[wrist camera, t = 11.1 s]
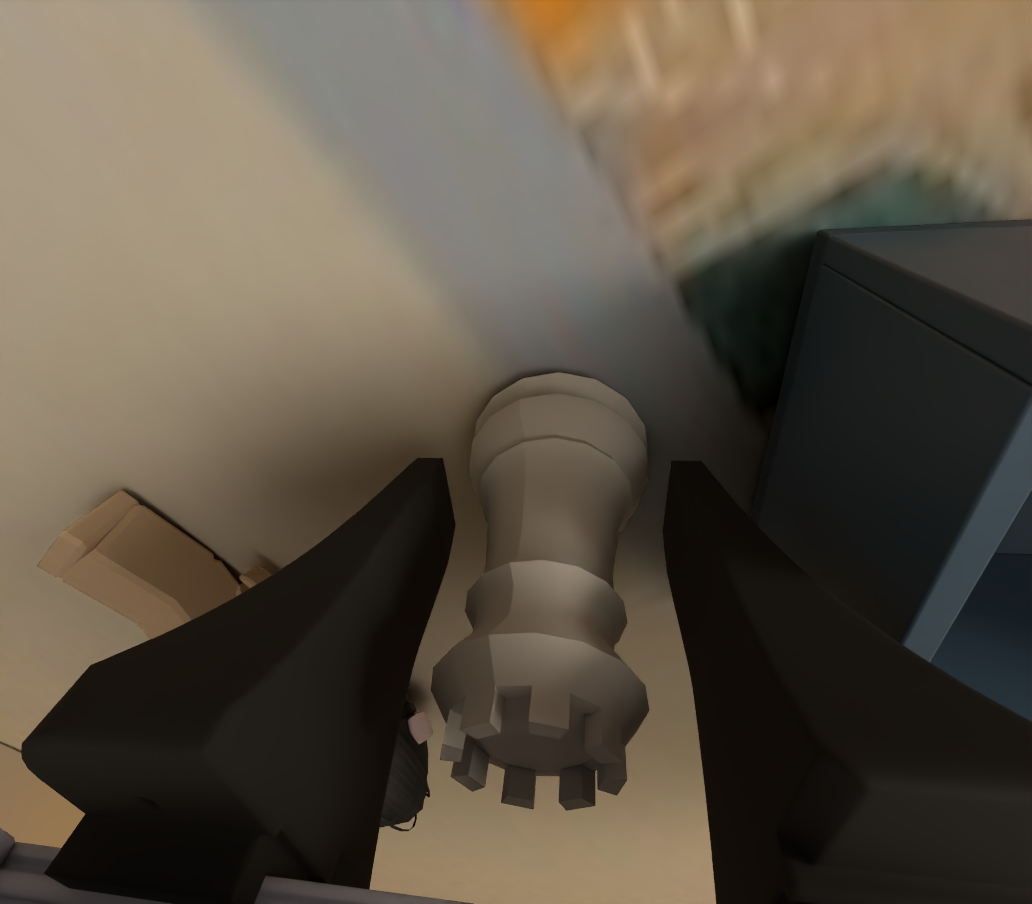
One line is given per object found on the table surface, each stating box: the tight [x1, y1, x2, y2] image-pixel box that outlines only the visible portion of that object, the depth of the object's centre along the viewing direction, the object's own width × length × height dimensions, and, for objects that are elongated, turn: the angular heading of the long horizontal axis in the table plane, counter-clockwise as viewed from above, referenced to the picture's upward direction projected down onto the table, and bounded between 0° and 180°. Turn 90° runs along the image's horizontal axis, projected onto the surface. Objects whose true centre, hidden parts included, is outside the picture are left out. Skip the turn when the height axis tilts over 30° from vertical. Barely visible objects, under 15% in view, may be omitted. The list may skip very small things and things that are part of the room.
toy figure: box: [37, 490, 433, 831], centre depth 18 cm, size 7×6×15 cm
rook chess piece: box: [431, 372, 649, 810], centre depth 10 cm, size 4×4×8 cm
